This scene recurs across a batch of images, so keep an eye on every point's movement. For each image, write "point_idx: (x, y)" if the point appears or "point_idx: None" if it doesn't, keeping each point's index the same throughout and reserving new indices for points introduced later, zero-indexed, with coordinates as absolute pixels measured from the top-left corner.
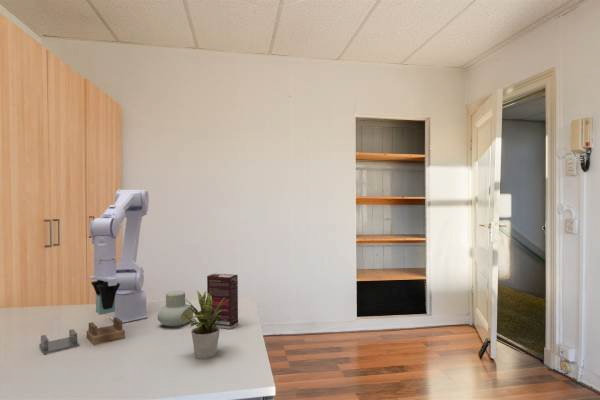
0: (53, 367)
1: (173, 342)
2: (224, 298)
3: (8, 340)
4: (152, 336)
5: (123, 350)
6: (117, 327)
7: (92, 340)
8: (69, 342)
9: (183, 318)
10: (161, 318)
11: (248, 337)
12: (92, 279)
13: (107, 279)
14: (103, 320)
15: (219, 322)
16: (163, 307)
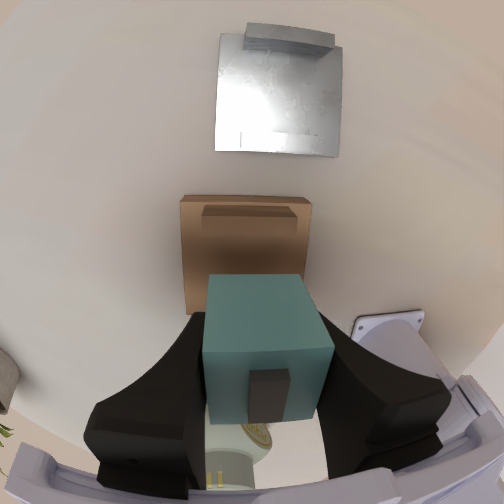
0: (76, 60)
1: (78, 366)
2: None
3: (447, 32)
4: (150, 356)
5: (77, 261)
6: None
7: (204, 198)
8: (267, 124)
9: None
10: None
11: (59, 431)
12: (257, 498)
13: (31, 498)
14: (428, 290)
15: None
16: (243, 444)
